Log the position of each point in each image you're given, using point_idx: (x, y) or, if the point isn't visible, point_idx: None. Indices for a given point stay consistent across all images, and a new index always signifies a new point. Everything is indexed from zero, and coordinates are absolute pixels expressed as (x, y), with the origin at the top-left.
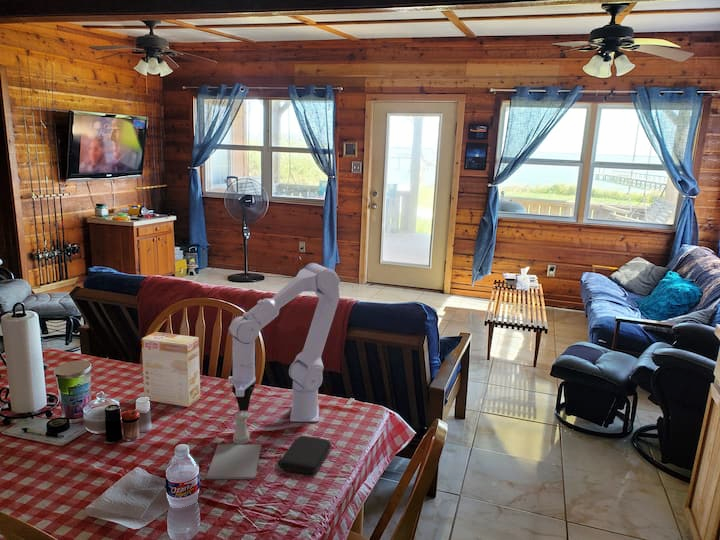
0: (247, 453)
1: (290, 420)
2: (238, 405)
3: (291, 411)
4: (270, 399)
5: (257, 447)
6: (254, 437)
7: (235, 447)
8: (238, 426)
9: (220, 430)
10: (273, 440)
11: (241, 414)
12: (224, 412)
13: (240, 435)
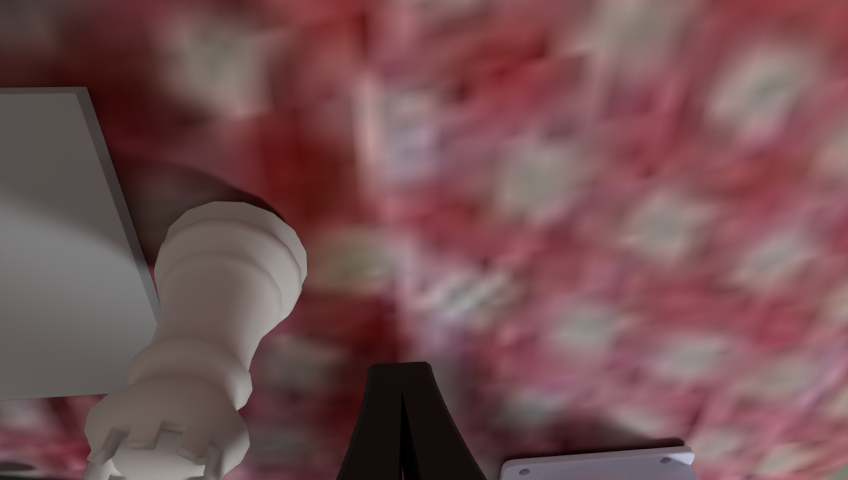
0: (27, 337)
1: (506, 466)
2: (357, 421)
3: (613, 459)
4: (843, 331)
5: None
6: (303, 323)
7: (81, 248)
8: (150, 342)
9: (399, 50)
10: (281, 417)
11: (137, 472)
12: (763, 21)
13: (161, 304)
